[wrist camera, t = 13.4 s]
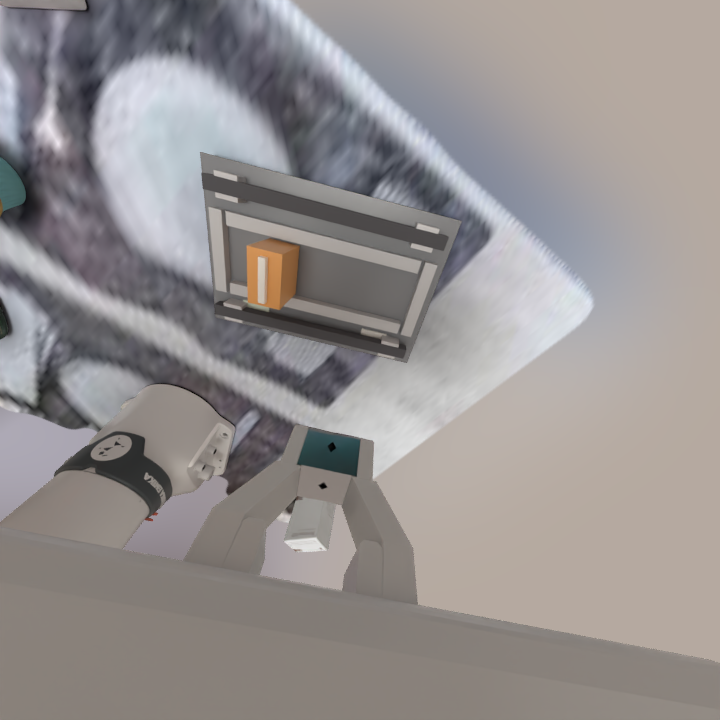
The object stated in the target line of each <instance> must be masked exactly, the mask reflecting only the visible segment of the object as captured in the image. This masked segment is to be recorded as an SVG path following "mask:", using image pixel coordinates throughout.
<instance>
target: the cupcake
mask: <svg viewBox="0 0 720 720" xmlns="http://www.w3.org/2000/svg"><path fill="white" fill-rule="evenodd" d="M25 199H26V191H25V187H24V185H23V183H22V181H21V179H20V177H19V176H18V174H17V173H16V171H15V170H14V169H13V168H12V167H11V166H10V165H9V164H8V163H7V162H6V161H5V160H4V159H2V158H1V157H0V216H1V214H2V212H3V211H5V210H8V209H10V208H13V207H16V206H19V205H21V204H23V203H24V201H25Z"/></svg>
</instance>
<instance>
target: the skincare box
mask: <svg viewBox="0 0 720 720" xmlns="http://www.w3.org/2000/svg"><path fill="white" fill-rule="evenodd" d="M335 507H336V504H334V503H330V502H325V501H321V500H316V499H310V498H305V497H299V496H297V498H296V502H295V505H294V508H293V512H292V515H291V518H290V521H289V525H288V528H287V531H286V535H285V538H284V542H285V543H286V544H287V545H289V546H290V547H291V548H292V549H293V550H295V551H296V552H315V551H325V550H328V547H329V541H330V536H331V530H332V525H333V518H334V512H335Z"/></svg>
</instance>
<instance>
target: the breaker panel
mask: <svg viewBox="0 0 720 720" xmlns="http://www.w3.org/2000/svg"><path fill="white" fill-rule="evenodd" d="M200 156H201V166H202V173H209V174H213V175H214V176H217V177H221V178H225V179H229V180H233V181H237V182H244V183H247V184H251V185H255V186H259V187H263V188H266V189H270V190H274V191H278V192H282V193H286V194H289V195H293V196H297V197H301V198H305V199H309V200H312V201H316V202H320V203H324V204H328V205H331V206H335V207H339V208H343V209H347V210H351V211H354V212H358V213H362V214H366V215H370V216H374V217H377V218H381V219H385V220H389V221H393V222H396V223H400V224H404V225H408V226H412V227H415V228H416V229H420V230H424V231H428V232H432V233H435V234H442V235H446V236H448V237H449V238H448V241H447V244H446V246H445V249H444V251H441V250H437V249H433V248H429V247H425V246H421V245H418V244H414V243H410V242H406V241H402V240H398V239H394V238H391V237H387V236H383V235H379V234H375V233H371V232H367V231H364V230H360V229H356V228H352V227H348V226H344V225H340V224H336V223H333V222H329V221H325V220H321V219H317V218H313V217H309V216H306V215H302V214H298V213H294V212H290V211H286V210H282V209H278V208H275V207H271V206H267V205H263V204H259V203H255V202H251V201H248V200H244V199H240V198H236V197H232V196H228V195H224V194H221V193H217V192H213V191H209V190H205V189H204V198H205V208H206V219H207V229H208V240H209V250H210V261H211V271H212V282H213V292H214V303H217V302H219V301H224V303H223V304H224V306H226V307H230V308H234V309H238V310H243V309H244V308H245V307H249V308H253V309H257V310H261V311H266V312H270V313H274V314H278V315H282V316H286V317H291V318H295V319H299V320H303V321H307V322H311V323H315V324H320V325H324V326H328V327H332V328H336V329H340V330H345V331H349V332H353V333H357V334H361V335H365V336H369V337H374V338H378V339H381V344H384V345H388V346H392V347H397V348H398V347H399V344H403V345H406V353H405V356H404V358H403V359H401V358H397V357H393V356H389V355H385V354H380V353H376V352H372V351H368V350H364V349H359V348H355V347H351V346H347V345H343V344H338V343H334V342H330V341H326V340H322V339H317V338H313V337H309V336H305V335H301V334H297V333H292V332H288V331H284V330H280V329H276V328H271V327H267V326H263V325H259V324H255V323H250V322H246V321H242V320H238V319H234V318H229V317H225V316H221V315H217V314H216V318H220V319H225V320H229V321H233V322H237V323H241V324H246V325H250V326H254V327H258V328H263V329H267V330H271V331H275V332H279V333H284V334H288V335H292V336H296V337H300V338H305V339H309V340H313V341H317V342H321V343H326V344H330V345H334V346H338V347H342V348H347V349H351V350H355V351H359V352H363V353H368V354H372V355H376V356H380V357H384V358H389V359H393V360H397V361H401V362H405V363H407V361H408V358H409V356H410V353H411V351H412V348H413V346H414V343H415V340H416V338H417V335H418V333H419V330H420V328H421V325H422V322H423V320H424V317H425V315H426V312H427V310H428V307H429V304H430V302H431V299H432V297H433V294H434V291H435V289H436V286H437V284H438V281H439V279H440V276H441V273H442V271H443V268H444V266H445V263H446V261H447V258H448V255H449V253H450V250H451V248H452V245H453V242H454V240H455V237H456V235H457V232H458V230H459V227H460V224H461V222H462V221H459V220H456V219H452V218H448V217H444V216H440V215H437V214H433V213H429V212H425V211H422V210H418V209H414V208H410V207H406V206H403V205H399V204H395V203H391V202H388V201H384V200H380V199H376V198H373V197H369V196H365V195H361V194H357V193H354V192H350V191H346V190H342V189H339V188H335V187H331V186H327V185H323V184H320V183H316V182H312V181H308V180H305V179H301V178H297V177H293V176H289V175H286V174H282V173H278V172H274V171H271V170H267V169H263V168H259V167H255V166H252V165H248V164H244V163H240V162H237V161H233V160H229V159H225V158H221V157H218V156H214V155H210V154H206V153H202V152H200ZM269 238H271V239H275V240H279V241H283V242H287V243H291V244H295V245H299V246H300V248H299V259H298V271H297V283H296V294H295V295H294V296H293V297H292V298H291V299H290V300H289V301H288V302H287V303H286V304H285V305H284V306H283V307H282V308H281V309H280V310H277V309H273V308H269V307H265V306H261V305H257V304H252V303H248V290H247V245H250V244H253V243H256V242H259V241H263V240H266V239H269Z"/></svg>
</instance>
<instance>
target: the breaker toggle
mask: <svg viewBox="0 0 720 720" xmlns="http://www.w3.org/2000/svg"><path fill="white" fill-rule="evenodd" d="M299 248H300V246H299V245H295V244H291V243H287V242H283V241H279V240H275V239H271V238H269V239H266V240H263V241H259V242H256V243H253V244H250V245H247V290H248V303H252V304H257V305H261V306H265V307H269V308H273V309H277V310H280V309H281V308H282V307H283V306H284V305H285V304H286V303H287V302H288V301H289V300H290V299H291V298H292V297H293V296H294V295H295V294H296V283H297V271H298V259H299Z"/></svg>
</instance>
